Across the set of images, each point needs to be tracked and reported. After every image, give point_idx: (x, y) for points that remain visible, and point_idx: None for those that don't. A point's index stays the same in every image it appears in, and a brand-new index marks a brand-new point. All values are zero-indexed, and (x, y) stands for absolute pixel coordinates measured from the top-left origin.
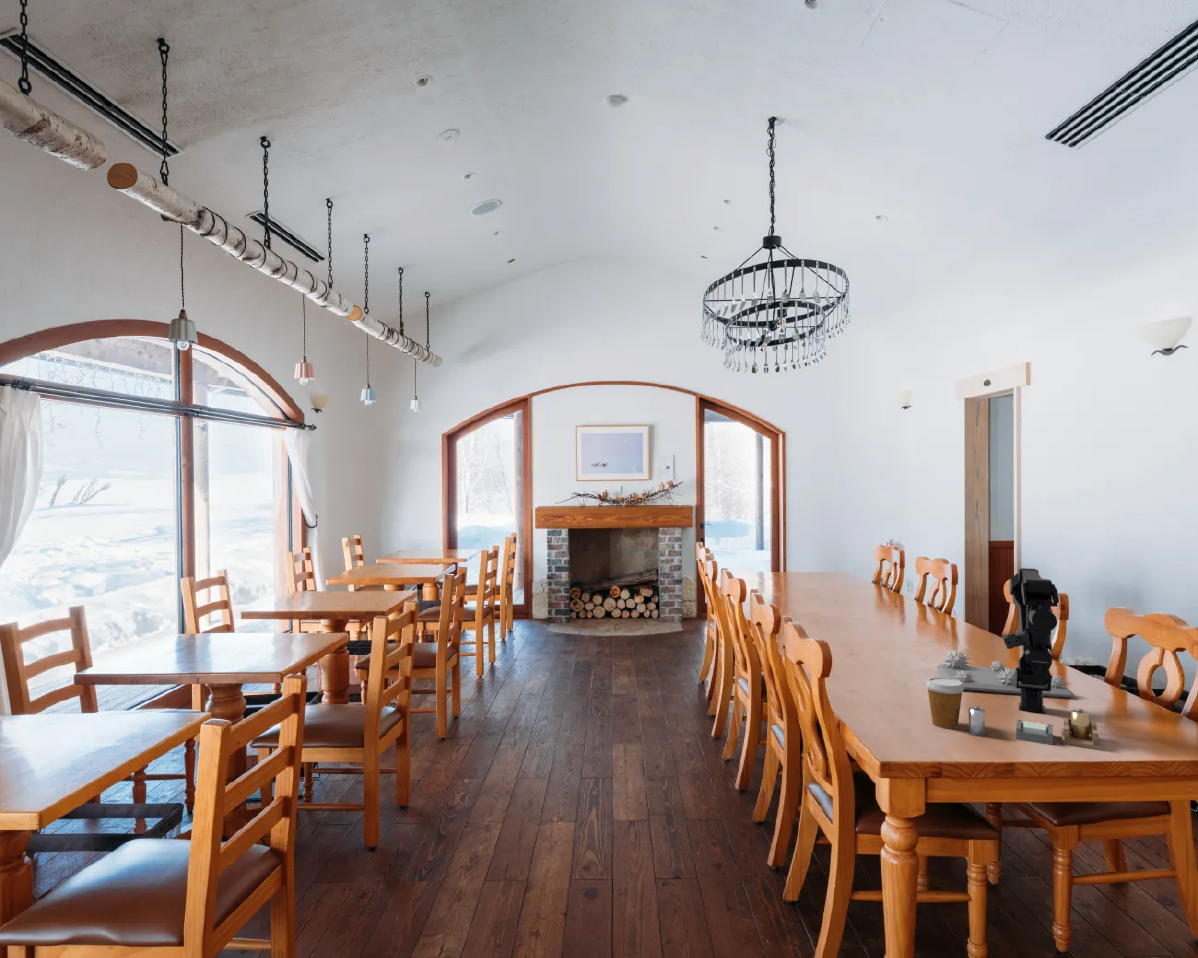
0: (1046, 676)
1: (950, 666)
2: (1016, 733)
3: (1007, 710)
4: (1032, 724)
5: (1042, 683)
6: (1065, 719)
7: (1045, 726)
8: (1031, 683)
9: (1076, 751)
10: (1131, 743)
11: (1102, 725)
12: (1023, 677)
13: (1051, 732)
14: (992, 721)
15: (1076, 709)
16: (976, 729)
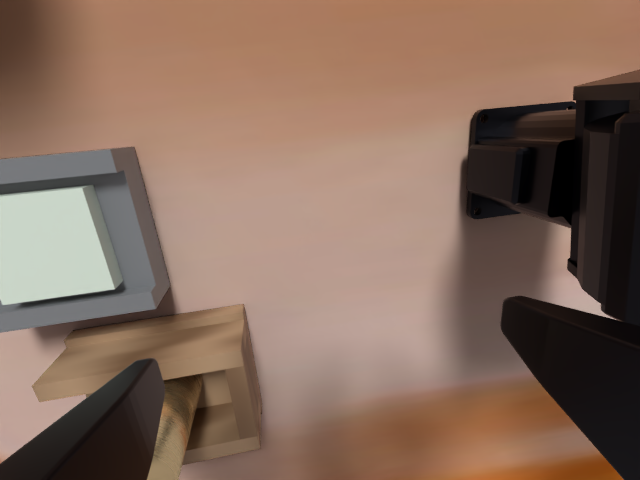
0: (626, 318)
1: None
2: None
3: (442, 59)
4: (54, 236)
5: (579, 264)
6: (210, 361)
7: (74, 293)
8: (581, 193)
9: (18, 381)
10: (271, 472)
11: (421, 388)
12: (610, 144)
13: (4, 326)
14: (185, 4)
15: (169, 466)
16: None
